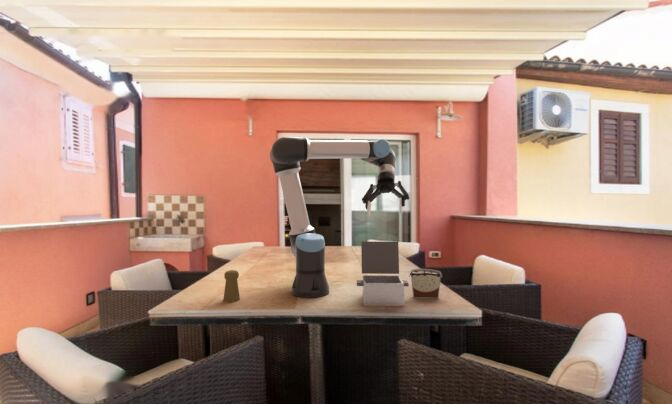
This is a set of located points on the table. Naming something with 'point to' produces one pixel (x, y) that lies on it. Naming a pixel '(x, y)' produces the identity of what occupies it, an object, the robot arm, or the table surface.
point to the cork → (231, 286)
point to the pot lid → (380, 257)
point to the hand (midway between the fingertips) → (384, 213)
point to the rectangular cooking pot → (382, 290)
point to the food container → (425, 283)
